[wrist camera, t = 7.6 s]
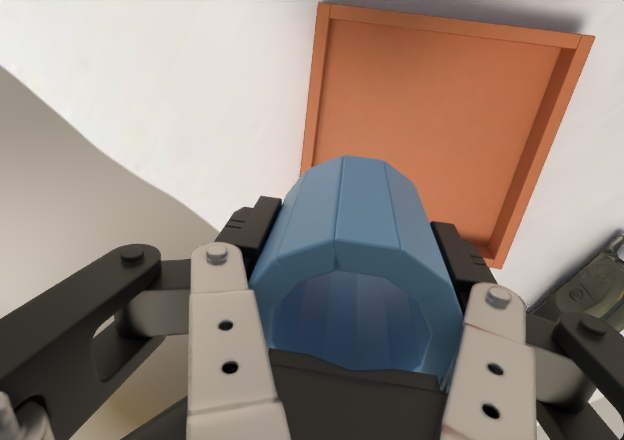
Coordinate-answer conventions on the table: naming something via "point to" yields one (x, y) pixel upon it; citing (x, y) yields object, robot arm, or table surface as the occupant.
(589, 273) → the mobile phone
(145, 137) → the table surface
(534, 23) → the table surface
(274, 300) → the blue hollow tube
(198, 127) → the table surface
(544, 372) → the robot arm
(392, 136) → the tray
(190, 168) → the table surface
